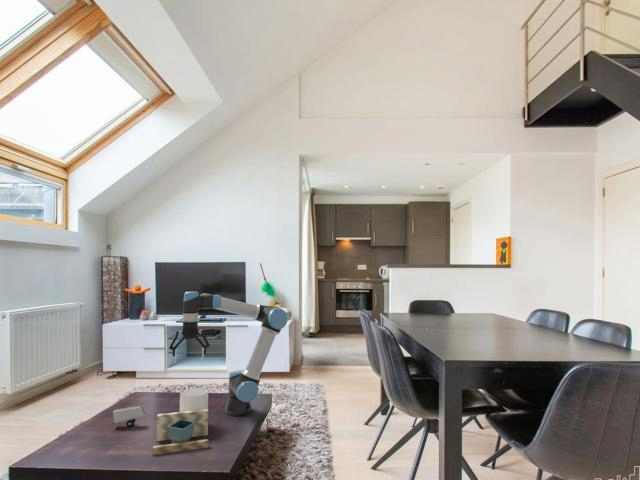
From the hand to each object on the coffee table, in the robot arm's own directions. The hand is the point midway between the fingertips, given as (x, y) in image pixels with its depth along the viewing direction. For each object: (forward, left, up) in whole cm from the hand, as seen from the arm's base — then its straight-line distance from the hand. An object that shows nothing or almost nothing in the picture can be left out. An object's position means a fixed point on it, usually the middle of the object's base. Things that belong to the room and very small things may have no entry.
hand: (189, 361), depth 200 cm
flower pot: (+2, +16, -35) cm, 38 cm away
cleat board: (+2, +16, -35) cm, 38 cm away
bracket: (+37, -15, -31) cm, 51 cm away
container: (-3, -3, -35) cm, 35 cm away
